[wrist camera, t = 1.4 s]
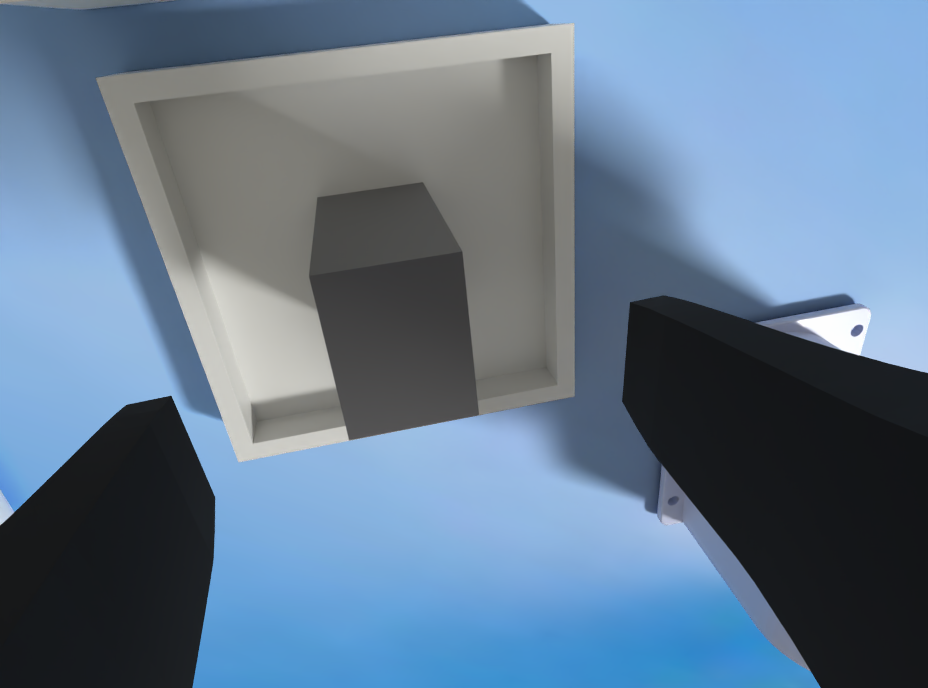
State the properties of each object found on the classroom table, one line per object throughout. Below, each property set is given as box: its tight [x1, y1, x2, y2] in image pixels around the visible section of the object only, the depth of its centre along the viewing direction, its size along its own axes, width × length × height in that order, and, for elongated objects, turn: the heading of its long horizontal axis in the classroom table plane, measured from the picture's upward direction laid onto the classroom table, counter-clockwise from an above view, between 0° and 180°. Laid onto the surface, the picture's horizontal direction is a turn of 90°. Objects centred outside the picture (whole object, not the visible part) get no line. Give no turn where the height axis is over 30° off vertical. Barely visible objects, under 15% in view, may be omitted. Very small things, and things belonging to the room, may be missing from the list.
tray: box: [96, 23, 575, 462], centre depth 17 cm, size 11×11×2 cm
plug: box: [309, 182, 479, 440], centre depth 15 cm, size 4×3×6 cm
